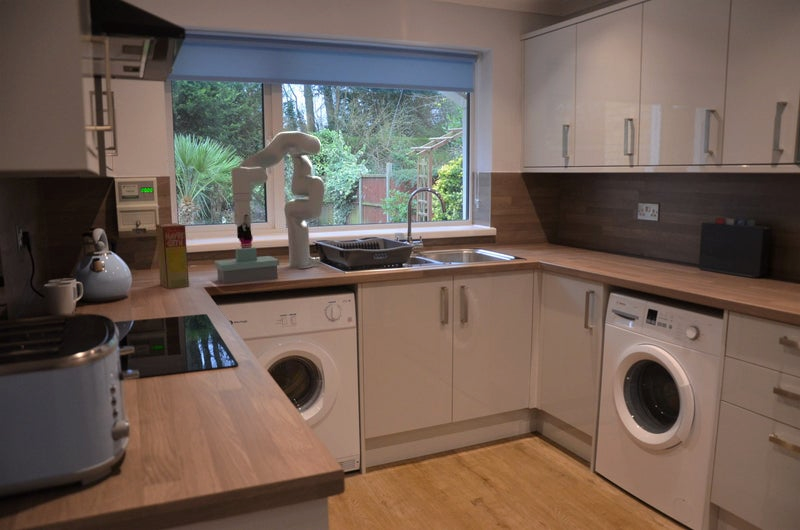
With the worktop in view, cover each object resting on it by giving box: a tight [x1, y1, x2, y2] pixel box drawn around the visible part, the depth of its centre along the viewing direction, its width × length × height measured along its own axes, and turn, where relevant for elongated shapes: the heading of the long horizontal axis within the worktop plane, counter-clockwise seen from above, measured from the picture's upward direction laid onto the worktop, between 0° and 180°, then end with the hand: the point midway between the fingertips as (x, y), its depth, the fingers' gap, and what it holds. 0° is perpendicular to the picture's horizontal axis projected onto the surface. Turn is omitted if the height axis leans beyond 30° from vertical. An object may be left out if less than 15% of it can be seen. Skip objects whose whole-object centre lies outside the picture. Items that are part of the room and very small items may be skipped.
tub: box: [216, 266, 279, 285], centre depth 268 cm, size 22×12×8 cm, turn 118°
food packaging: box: [155, 222, 190, 290], centre depth 261 cm, size 13×9×25 cm
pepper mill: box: [238, 233, 254, 248], centre depth 285 cm, size 7×7×20 cm
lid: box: [214, 246, 280, 271], centre depth 267 cm, size 24×14×7 cm, turn 118°
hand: (244, 239), depth 265 cm, fingers open, 9 cm apart
